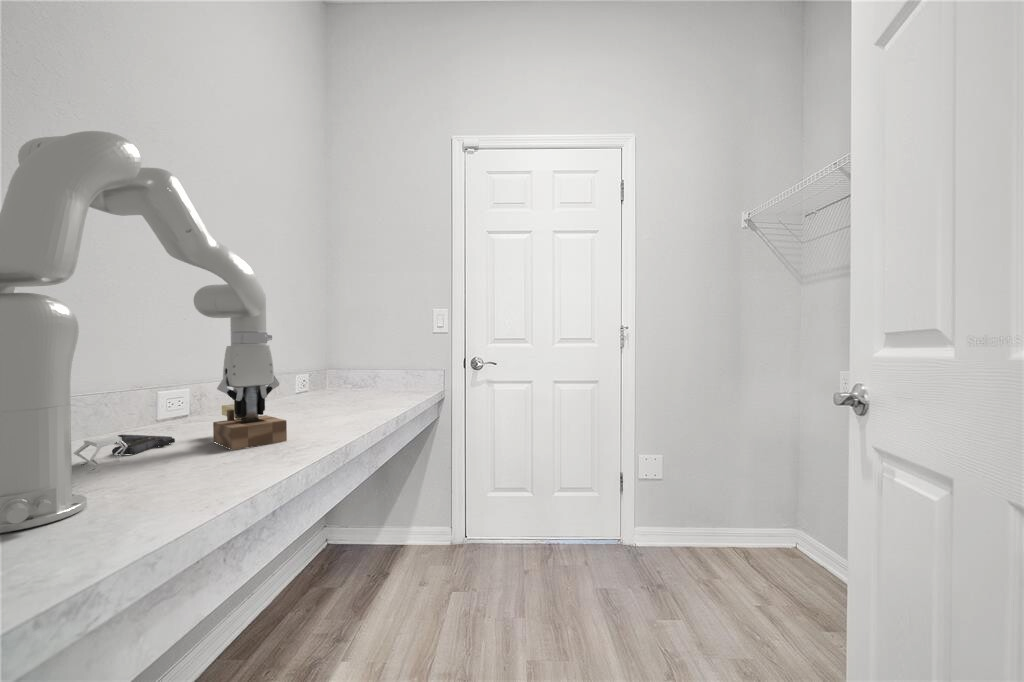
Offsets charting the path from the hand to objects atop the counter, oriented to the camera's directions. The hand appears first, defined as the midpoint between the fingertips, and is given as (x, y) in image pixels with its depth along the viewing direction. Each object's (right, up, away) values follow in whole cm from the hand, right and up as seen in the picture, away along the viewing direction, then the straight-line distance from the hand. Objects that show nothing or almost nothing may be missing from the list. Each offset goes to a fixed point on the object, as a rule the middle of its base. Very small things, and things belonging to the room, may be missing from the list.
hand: (250, 414), depth 111 cm
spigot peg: (0, -4, 0) cm, 4 cm away
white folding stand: (-19, -7, -19) cm, 28 cm away
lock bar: (-7, -1, +6) cm, 9 cm away
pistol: (-26, -8, -4) cm, 28 cm away
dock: (0, -7, 0) cm, 7 cm away
